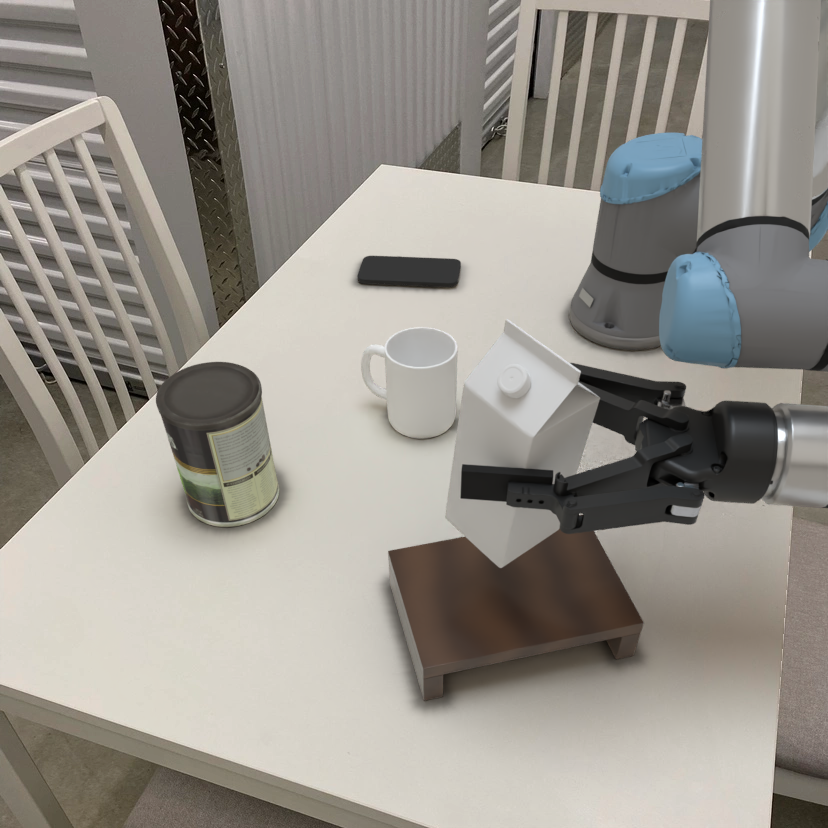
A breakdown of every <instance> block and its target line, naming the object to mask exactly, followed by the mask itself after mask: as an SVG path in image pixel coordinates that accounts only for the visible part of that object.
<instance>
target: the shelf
mask: <svg viewBox="0 0 828 828" xmlns="http://www.w3.org/2000/svg"><path fill="white" fill-rule="evenodd" d="M582 515H583V514H579V516H582ZM387 557H388V575H389V586H390V590H391V593H392V596H393V600H394V603H395V607H396V610H397V613H398V617H399V621H400V624H401V628H402V631H403V634H404V638H405V642H406V645H407V648H408V651H409V654H410V660H411V662H412V666H413V669H414V673H415V676H416V679H417V683H418V687H419V690H420V693H421V697H422V700H423V701H429V700H433V699H438V698H442V697H444V675H447V674H452V673H457V672H461V671H467V670H471V669H475V668H481V667H485V666H490V665H495V664H500V663H503V662H504V663H505V662H508V661H513V660H514V661H515V660H519V659H524V658H527V657H532V656H538V655H541V654H546V653H552V652H556V651H561V650H565V649H566V650H567V649H570V648H575V647H580V646H584V645H590V644H594V643H598V642H603V641H606V643H607V645H608V647H609V649H610V650H611V653H612V655H613V657H614V659H615V660H621V659H624V658H629V657H634V656H635V653H636V650H637V646H638V643H639V640H640V637H641V633H642V631H643V627H644V624H645V623H644V620H643V618H642V616H641V615H640V613H639V611H638V609H637V607H636V605H635V604H634V601H633V600H632V598H631V596H630V594H629V593H628V590H627V589H626V587H625V585H624V583H623V581H622V580H621V578H620V576H619V574H618V572H617V571H616V569H615V567H614V565H613V563H612V561H611V560H610V558H609V556H608V554H607V552H606V550H605V549H604V547H603V545H602V542H601V541H600V539H599V538H598V536H597V533H596V532H595V531H589V532H582V533H574V534H566V533H563V532H562V531H561V530H560V528H559V530H558V531H556V532H555V533H553V534H552V535H550V536H549V537H547V538H546V539H544V540H543V541H541V542H540V543H538V544H537V545H535V546H534V547H532V548H531V549H529V550H528V551H526V552H525V553H523V554H522V555H520V556H519V557H517V558H516V559H514V560H513V561H511V562H510V563H508V564H507V565H505V566H504V567H502V568H499V567H498V566H497V565H496V564H495V563H493V562H492V561H491V560H490V559H489V558H488V557H487V556H486V555H485V554H484V553H482V552H481V551H480V550H479V549H478V548H477V547H476V546H475V545H474V544H473V543H472V542H470V541H469V540H468V539H467V538H466V537H465V536H459V537H455V538H454V537H453V538H448V539H444V540H439V541H432V542H428V543H422V544H417V545H412V546H406V547H402V548H401V547H400V548H396V549H391V550H387Z"/></svg>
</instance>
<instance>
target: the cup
mask: <svg viewBox="0 0 828 828" xmlns="http://www.w3.org/2000/svg"><path fill="white" fill-rule="evenodd" d="M384 343H385V344H384V345H382V344H376V343H375V344H373V343H372V344H370V345H368V346H366V347H365V349H364V350H363V352H362V355H361V360H360V371H361V376H362V379H363V382H364V384H365V386H366V388H367V389H368V391H370V392H371V393H372V394H373V395H375V396H376V397H378V398H381V399H383V400H386V408H387V418H388V422H389V423H390V425H391V427H392V428H393V429H394V430H395V431H396V432H398V433H399V434H400V435H403V436H404V437H407V438H408V437H409V438H412V439H430V438H431V439H432V438H435V437H438V436H440V435H442V434H444V433H445V432H448V430H449V429H450V428H451V427H452V426H453V424H454V423H455V420H456V415H457V395H458V394H457V392H458V391H457V389H458V388H457V387H458V352H459V347H458V342H457V341H456V339H455V338H454V337H453V336H452V335H451V334H450V333H448V332H447V331H444V330H442V329H439V328H435V327H430V326H429V327H428V326H415V327H408V328H405V329H404V328H403V329H402V330H399V331H396V332H394V333H393V334H392V335H390V336H389V337H388V338H387V340H386V341H385V342H384ZM373 355H375V356H379V357H380V358H384V370H385V371H384V372H385V387H383V386H380V385H378V384H377V383H376V382H375V381H374V379H373V376H372V374H371V360H372V356H373Z"/></svg>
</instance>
